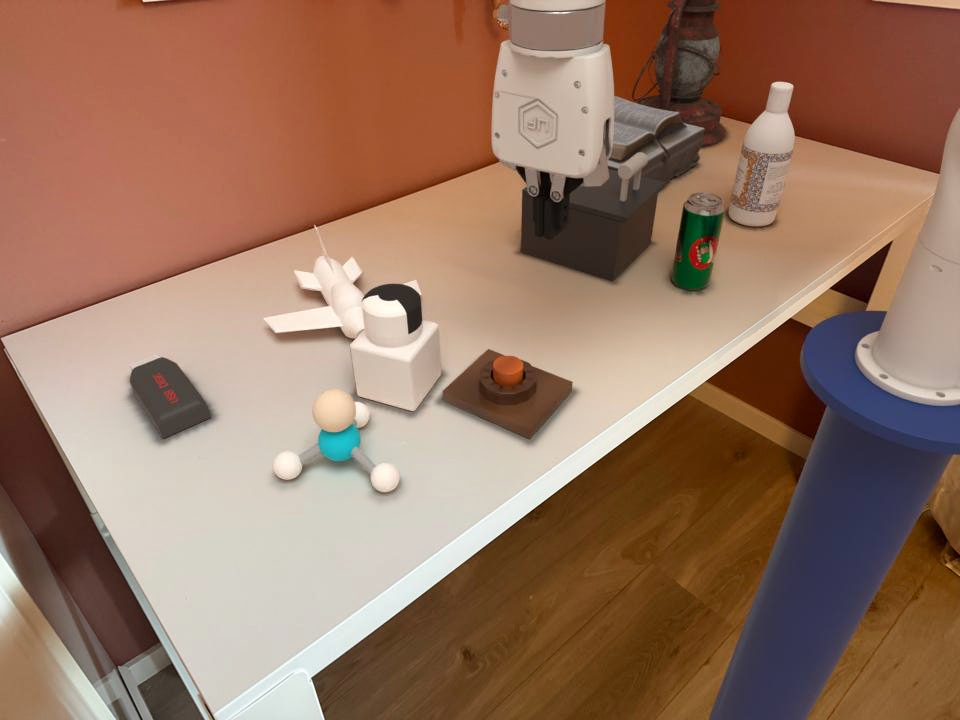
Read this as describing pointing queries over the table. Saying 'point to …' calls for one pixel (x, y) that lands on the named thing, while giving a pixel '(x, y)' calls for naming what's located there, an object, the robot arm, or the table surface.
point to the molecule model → (338, 440)
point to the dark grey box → (590, 240)
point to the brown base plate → (508, 395)
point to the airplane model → (329, 298)
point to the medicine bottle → (395, 348)
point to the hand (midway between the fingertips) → (550, 232)
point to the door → (617, 192)
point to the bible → (654, 140)
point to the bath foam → (764, 161)
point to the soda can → (697, 240)
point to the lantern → (687, 66)
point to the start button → (508, 371)
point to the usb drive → (167, 395)
